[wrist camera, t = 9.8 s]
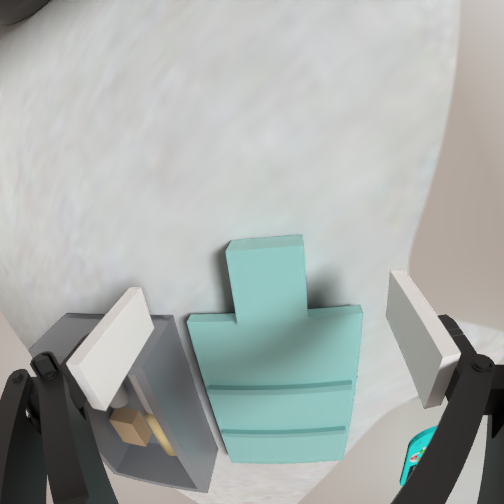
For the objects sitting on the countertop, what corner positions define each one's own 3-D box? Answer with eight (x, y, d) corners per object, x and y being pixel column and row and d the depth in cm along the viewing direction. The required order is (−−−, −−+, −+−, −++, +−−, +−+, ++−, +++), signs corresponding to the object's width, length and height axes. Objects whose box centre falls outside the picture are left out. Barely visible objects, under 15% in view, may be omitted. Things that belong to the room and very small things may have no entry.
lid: (180, 242, 20) (167, 256, 18) (357, 227, 19) (367, 240, 16) (234, 448, 28) (230, 466, 26) (341, 445, 27) (343, 463, 24)
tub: (66, 312, 23) (28, 350, 18) (173, 315, 22) (142, 367, 16) (131, 436, 30) (113, 473, 24) (218, 449, 28) (207, 493, 22)
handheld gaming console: (477, 416, 23) (451, 471, 28) (474, 410, 24) (449, 466, 29) (412, 440, 25) (399, 488, 29) (410, 433, 25) (398, 483, 30)
